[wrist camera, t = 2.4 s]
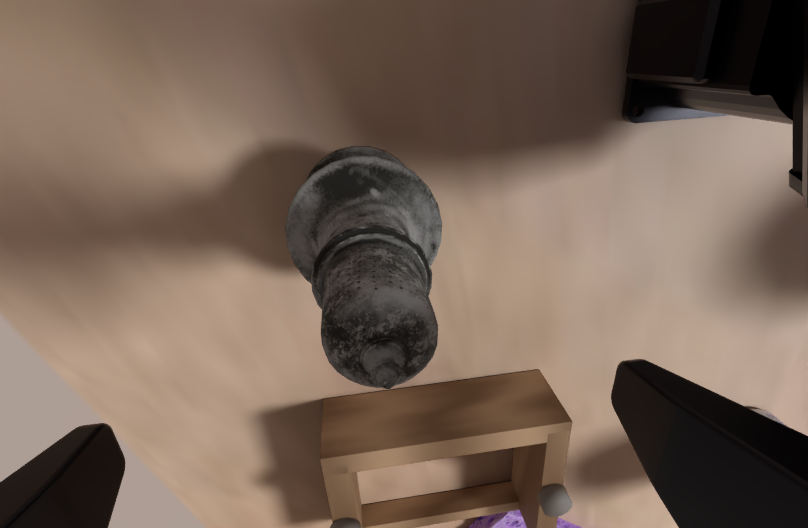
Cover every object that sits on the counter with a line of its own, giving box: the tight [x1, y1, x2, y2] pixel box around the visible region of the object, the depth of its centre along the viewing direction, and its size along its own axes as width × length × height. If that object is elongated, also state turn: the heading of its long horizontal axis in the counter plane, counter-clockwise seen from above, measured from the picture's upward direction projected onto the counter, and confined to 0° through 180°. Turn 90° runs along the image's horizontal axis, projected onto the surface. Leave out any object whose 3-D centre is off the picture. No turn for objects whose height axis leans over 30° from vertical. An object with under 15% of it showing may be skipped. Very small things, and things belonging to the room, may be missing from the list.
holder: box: [320, 370, 572, 528], centre depth 25 cm, size 13×10×5 cm
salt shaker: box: [285, 146, 442, 389], centre depth 14 cm, size 6×6×12 cm
